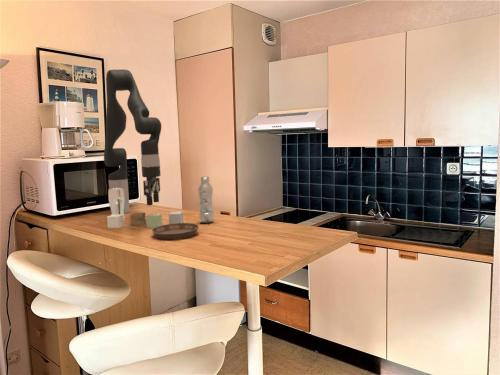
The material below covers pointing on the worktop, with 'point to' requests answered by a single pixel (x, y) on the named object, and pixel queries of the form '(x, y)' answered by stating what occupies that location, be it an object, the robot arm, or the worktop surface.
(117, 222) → the white block
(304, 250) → the worktop surface
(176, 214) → the grey block
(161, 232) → the plant saucer
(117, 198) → the beer glass
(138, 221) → the walnut block
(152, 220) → the green block
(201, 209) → the plastic bottle
